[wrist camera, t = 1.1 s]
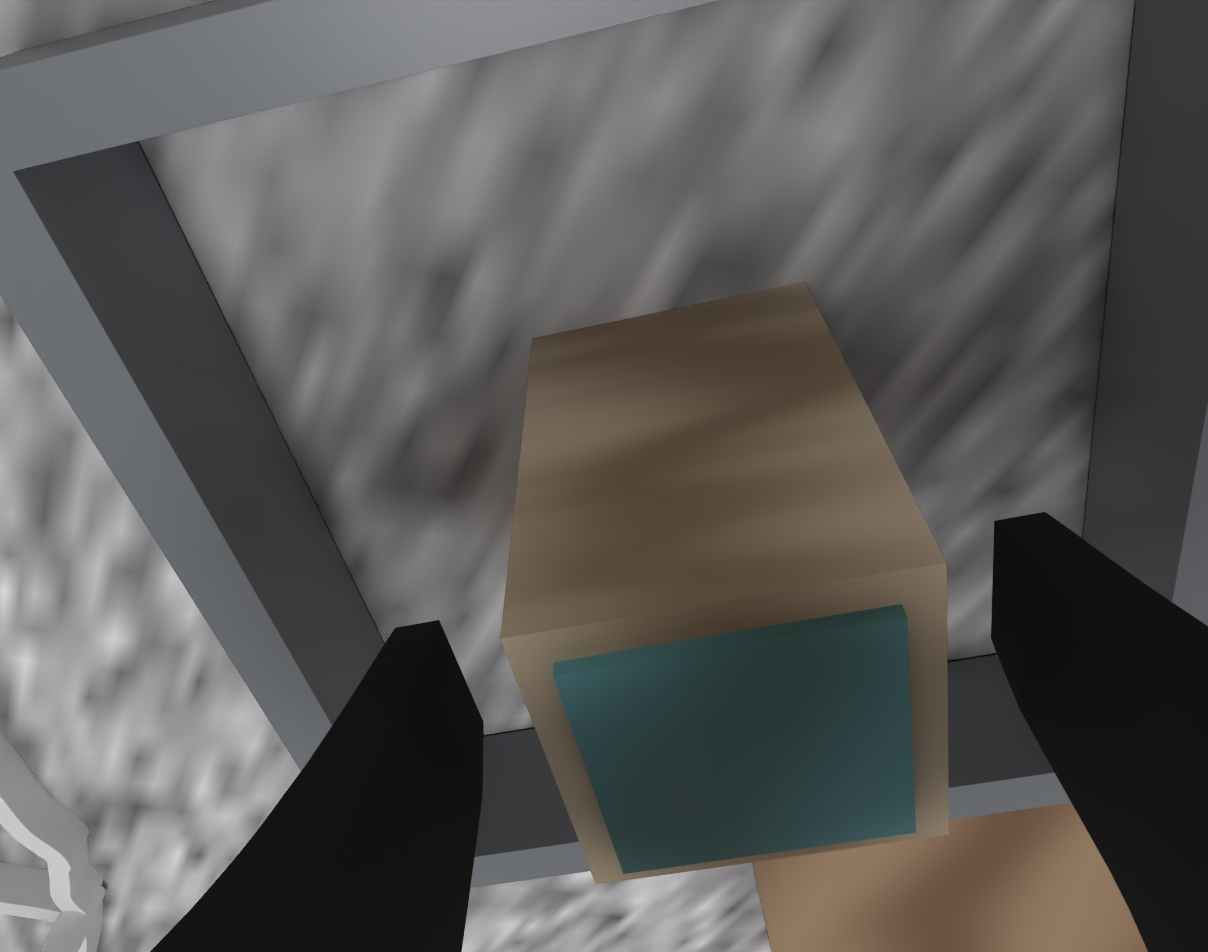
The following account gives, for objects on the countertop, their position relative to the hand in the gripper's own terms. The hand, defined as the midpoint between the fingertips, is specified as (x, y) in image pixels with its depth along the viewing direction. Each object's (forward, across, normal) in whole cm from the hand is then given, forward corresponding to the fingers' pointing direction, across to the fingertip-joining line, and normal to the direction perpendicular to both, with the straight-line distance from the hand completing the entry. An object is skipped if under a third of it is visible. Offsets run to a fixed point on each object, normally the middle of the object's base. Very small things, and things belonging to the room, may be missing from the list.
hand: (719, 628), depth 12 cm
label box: (+5, 0, 0) cm, 5 cm away
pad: (+5, -5, +15) cm, 17 cm away
